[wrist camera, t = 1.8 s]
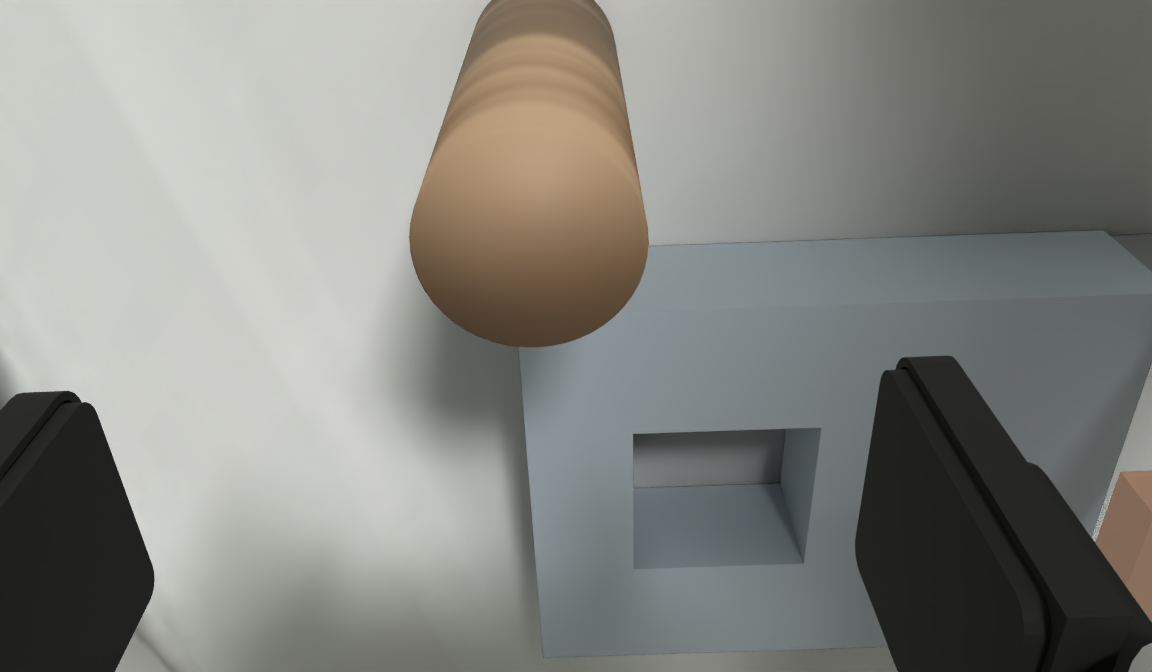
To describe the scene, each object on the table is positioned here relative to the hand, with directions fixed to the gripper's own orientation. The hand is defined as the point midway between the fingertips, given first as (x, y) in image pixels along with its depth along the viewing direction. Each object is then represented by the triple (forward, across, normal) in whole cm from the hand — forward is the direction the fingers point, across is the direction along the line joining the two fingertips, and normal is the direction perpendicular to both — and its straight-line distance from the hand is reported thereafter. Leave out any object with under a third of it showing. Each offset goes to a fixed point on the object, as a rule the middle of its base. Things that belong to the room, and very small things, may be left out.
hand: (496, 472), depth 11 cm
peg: (+17, 0, -1) cm, 17 cm away
